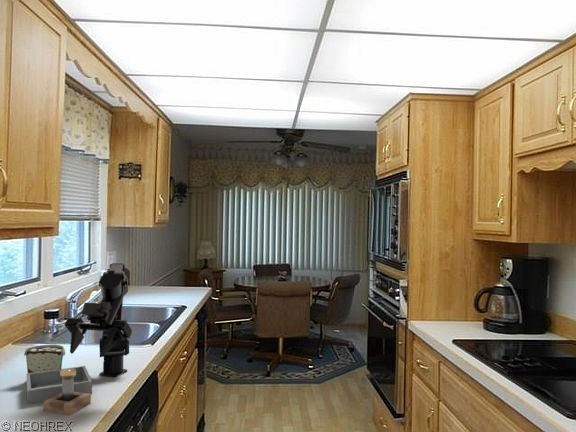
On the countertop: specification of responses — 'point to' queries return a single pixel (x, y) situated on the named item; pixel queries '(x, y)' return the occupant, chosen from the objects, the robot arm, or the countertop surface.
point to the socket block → (67, 403)
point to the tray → (52, 391)
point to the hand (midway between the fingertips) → (86, 353)
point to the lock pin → (68, 383)
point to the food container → (44, 358)
